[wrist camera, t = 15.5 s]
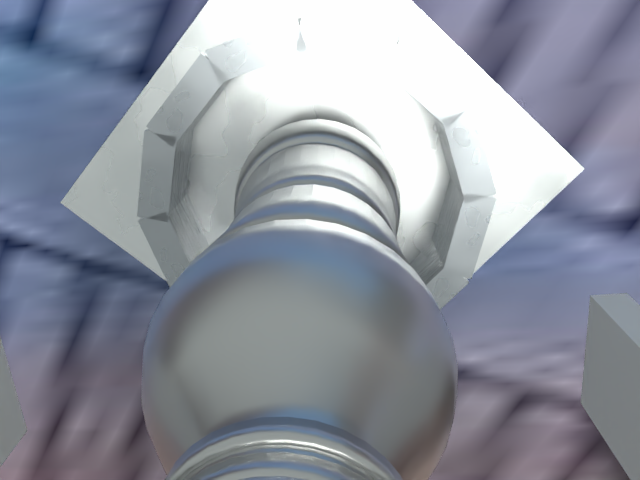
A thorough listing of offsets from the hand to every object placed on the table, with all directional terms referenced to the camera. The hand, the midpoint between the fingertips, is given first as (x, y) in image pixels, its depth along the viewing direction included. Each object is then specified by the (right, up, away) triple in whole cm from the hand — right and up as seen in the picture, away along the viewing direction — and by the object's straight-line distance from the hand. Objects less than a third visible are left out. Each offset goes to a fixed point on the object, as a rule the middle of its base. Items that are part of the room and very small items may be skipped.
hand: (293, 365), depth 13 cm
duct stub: (0, +5, +13) cm, 14 cm away
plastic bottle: (+1, +5, +13) cm, 14 cm away
